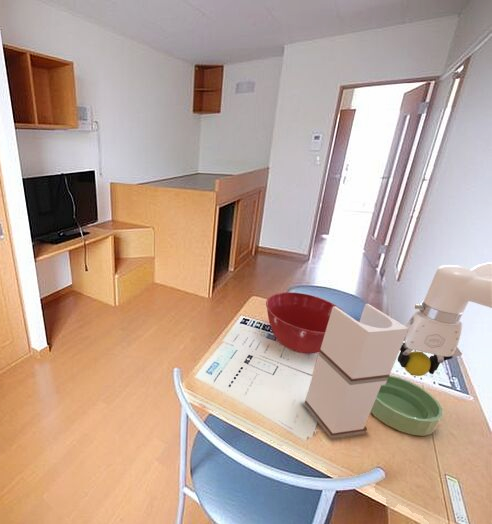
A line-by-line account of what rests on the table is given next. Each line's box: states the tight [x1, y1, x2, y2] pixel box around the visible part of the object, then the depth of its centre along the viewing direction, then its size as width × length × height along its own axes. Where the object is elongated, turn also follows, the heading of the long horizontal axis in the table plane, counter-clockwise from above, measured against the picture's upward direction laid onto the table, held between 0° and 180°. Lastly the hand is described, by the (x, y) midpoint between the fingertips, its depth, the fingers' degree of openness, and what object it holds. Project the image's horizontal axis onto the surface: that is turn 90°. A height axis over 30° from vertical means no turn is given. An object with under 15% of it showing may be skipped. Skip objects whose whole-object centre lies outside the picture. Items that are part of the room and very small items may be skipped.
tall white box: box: [303, 303, 409, 439], centre depth 82 cm, size 11×11×35 cm
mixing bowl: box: [265, 291, 345, 355], centre depth 119 cm, size 28×28×16 cm
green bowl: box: [370, 374, 444, 437], centre depth 91 cm, size 18×18×6 cm
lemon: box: [403, 350, 431, 377], centre depth 85 cm, size 6×6×8 cm
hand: (415, 366), depth 85 cm, fingers closed on lemon, 5 cm apart
